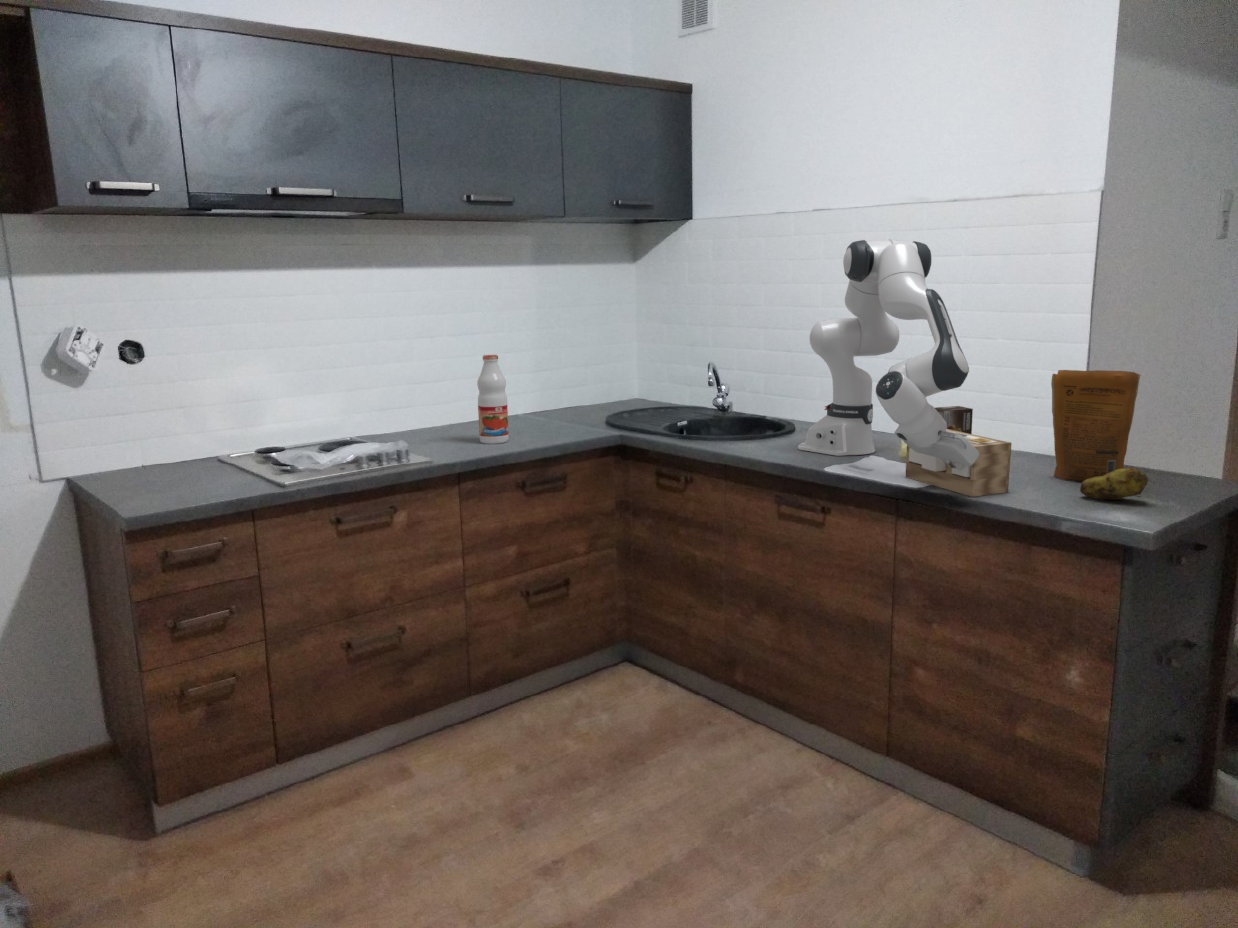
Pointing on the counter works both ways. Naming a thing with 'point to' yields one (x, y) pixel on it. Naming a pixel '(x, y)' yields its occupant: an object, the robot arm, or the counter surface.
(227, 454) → the counter surface
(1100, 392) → the pancake mix bag
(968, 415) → the coffee box
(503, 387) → the fruit juice
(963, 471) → the button
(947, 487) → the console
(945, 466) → the button middle
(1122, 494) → the potato
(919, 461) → the button
